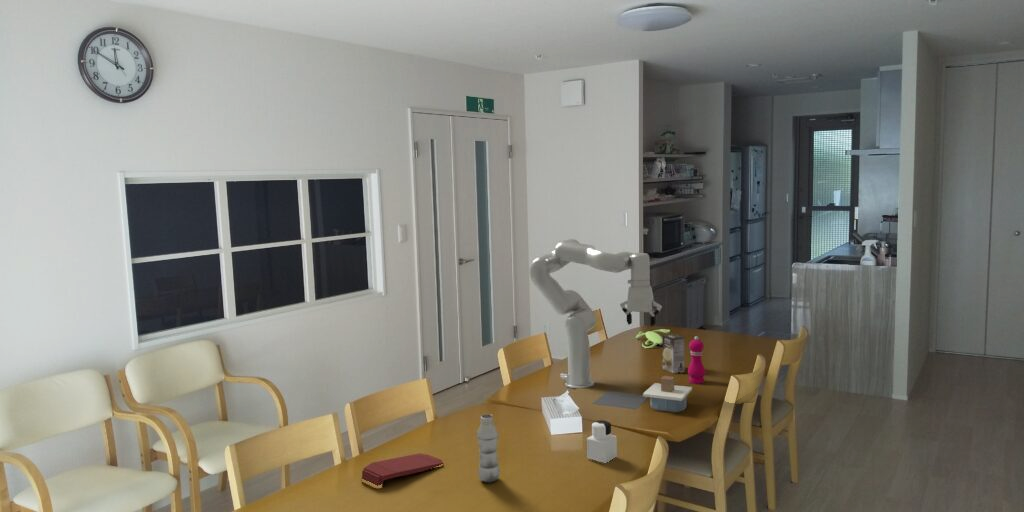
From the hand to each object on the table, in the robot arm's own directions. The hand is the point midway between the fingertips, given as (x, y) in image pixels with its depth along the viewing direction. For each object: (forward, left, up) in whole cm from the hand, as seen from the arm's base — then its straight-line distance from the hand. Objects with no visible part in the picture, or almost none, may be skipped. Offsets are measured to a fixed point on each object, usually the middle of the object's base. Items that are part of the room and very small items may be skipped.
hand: (641, 324), depth 294 cm
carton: (-43, -106, -29) cm, 118 cm away
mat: (-4, -14, -28) cm, 32 cm away
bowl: (+15, -14, -28) cm, 35 cm away
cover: (+15, -14, -23) cm, 31 cm away
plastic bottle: (-15, -100, -28) cm, 105 cm away
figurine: (-21, +85, -29) cm, 92 cm away
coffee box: (+3, +36, -28) cm, 46 cm away
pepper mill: (+17, +22, -28) cm, 40 cm away
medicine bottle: (+10, -71, -28) cm, 77 cm away
